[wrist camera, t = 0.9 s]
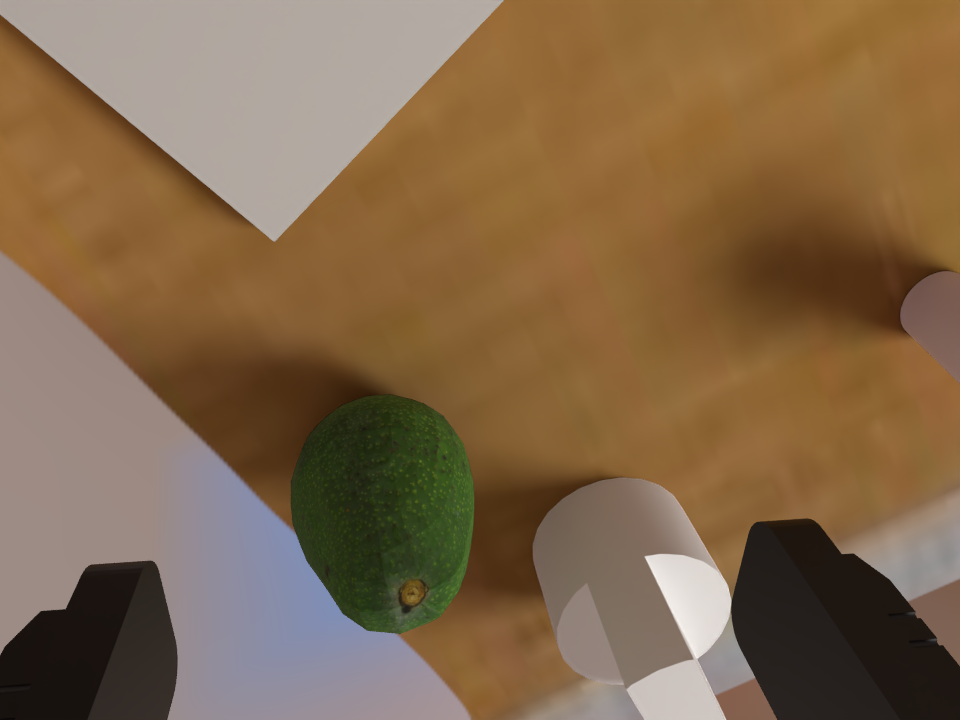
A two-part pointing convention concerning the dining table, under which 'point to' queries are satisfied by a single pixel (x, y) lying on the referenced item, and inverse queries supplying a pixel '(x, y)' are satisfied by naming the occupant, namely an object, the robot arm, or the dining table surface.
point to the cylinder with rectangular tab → (633, 595)
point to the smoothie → (936, 318)
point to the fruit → (385, 511)
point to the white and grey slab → (254, 80)
